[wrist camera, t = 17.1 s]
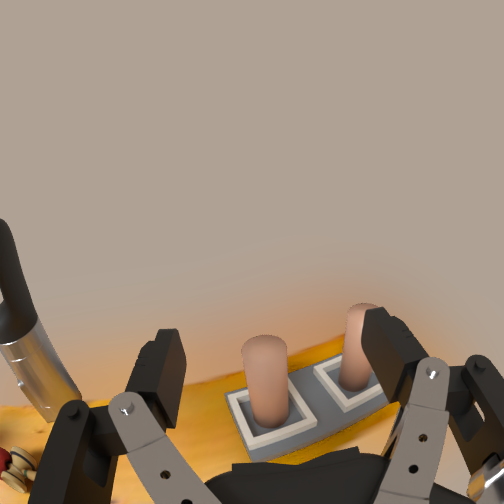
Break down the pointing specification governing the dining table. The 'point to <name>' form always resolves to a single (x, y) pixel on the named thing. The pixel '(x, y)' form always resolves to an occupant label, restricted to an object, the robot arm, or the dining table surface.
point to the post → (267, 379)
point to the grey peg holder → (315, 399)
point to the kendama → (17, 468)
